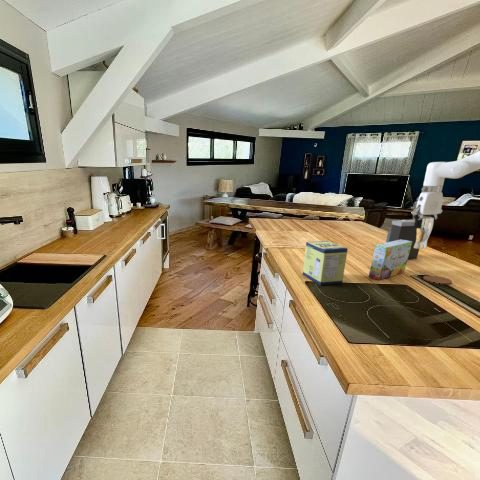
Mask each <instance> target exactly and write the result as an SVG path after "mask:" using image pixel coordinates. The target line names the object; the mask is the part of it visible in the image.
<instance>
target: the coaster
mask: <svg viewBox="0 0 480 480" xmlns="http://www.w3.org/2000/svg"><path fill="white" fill-rule="evenodd" d="M422 280H423V281H425V282H427V283H431V284H436V285H444V286H445V285H451V284H452V283H453V281H452V279H450V278H447V277H444V276H439V275H424V276H423V277H422ZM429 281H430V282H429ZM433 282H435V283H433ZM439 283H440V284H439Z"/></svg>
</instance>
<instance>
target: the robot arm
mask: <svg viewBox="0 0 480 480" xmlns="http://www.w3.org/2000/svg"><path fill="white" fill-rule="evenodd" d="M478 170H480V150H478V151H476V152H474V153H472V154H469V155H467V156H465V157H462V158H461V159H459V160H454V161H432V162H429V163H428V164H427V166H426V171H425V175H424V180H423V184H422V185H423V186H422V188H421V193H420V194H419V197H418V200H417V202H416V206H415V208H414V209H413V210H412V211H411V215H412V217H413V219H415V223H414V228H420V226H421V222H422V220H421V218H422V217H424V216H429V217H433V218H434V222H433V227H432V229H433V228H435V224H436V220H437V219H438V217H439V216H440V215H441V214H442V213H443V209H442V207H443V199H444V198H443V197H444V195H443V192H442V191H443V187H444V183H445V179H461V178H463V177H464V176H466V175H469V174H471V173H473V172H476V171H478Z"/></svg>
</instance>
